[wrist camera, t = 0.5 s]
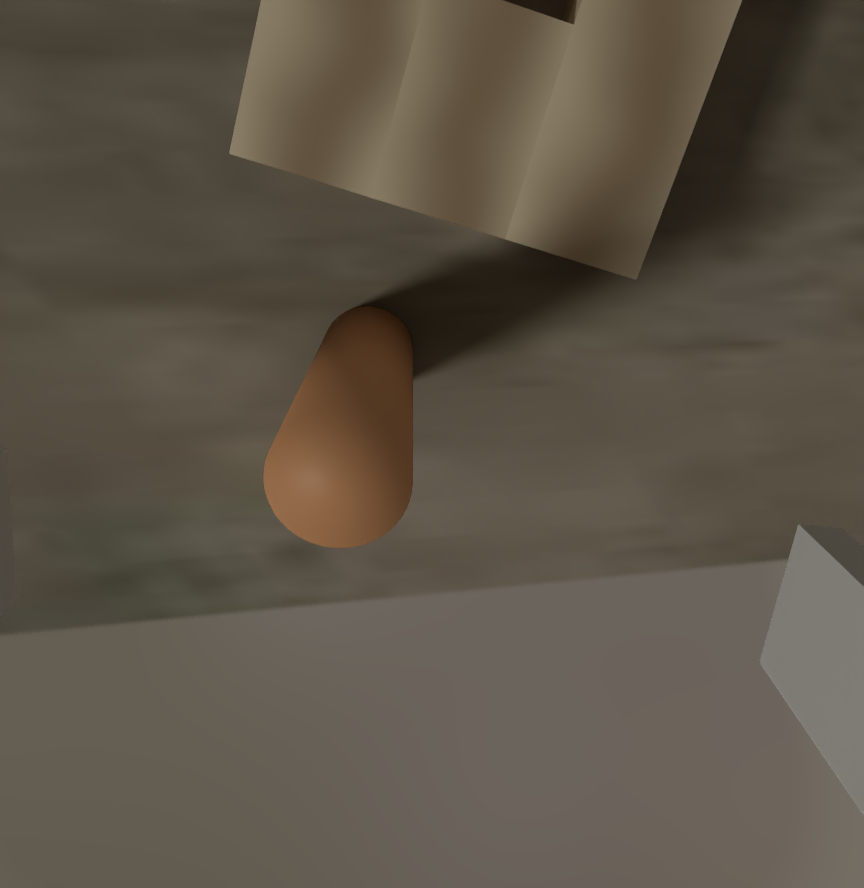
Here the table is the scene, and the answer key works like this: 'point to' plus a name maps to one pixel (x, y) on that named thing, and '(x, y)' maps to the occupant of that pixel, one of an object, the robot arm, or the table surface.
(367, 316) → the tapered brown peg
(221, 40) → the table surface
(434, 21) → the bore block
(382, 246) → the table surface
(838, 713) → the robot arm
